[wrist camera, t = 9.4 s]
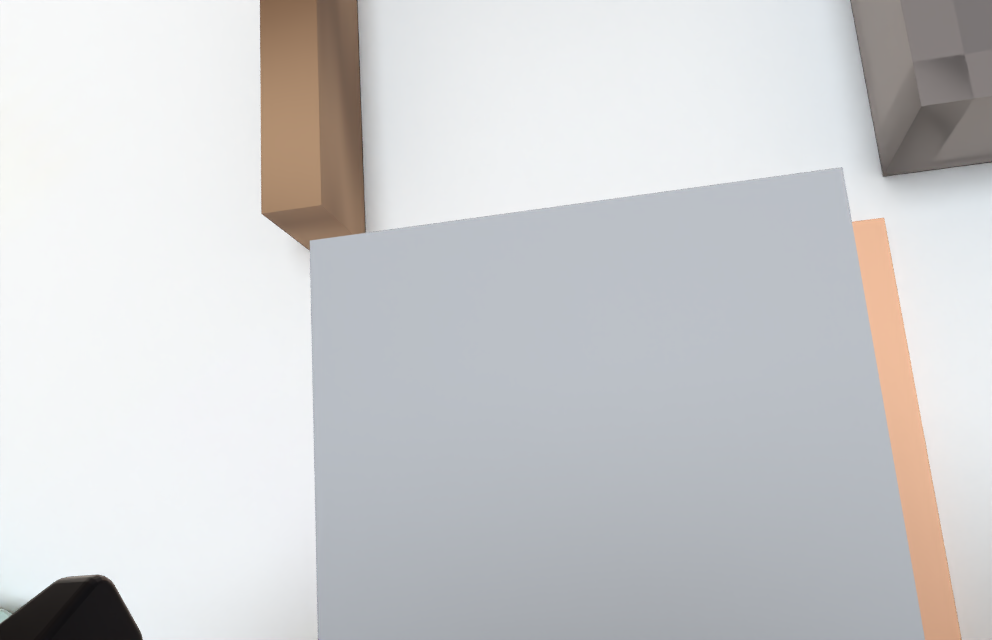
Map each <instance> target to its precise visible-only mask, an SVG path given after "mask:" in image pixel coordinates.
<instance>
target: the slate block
mask: <svg viewBox="0 0 992 640" xmlns="http://www.w3.org/2000/svg"><path fill="white" fill-rule="evenodd" d="M310 277H311V325H312V372H313V420H314V468H315V515H316V563H317V611H318V640H925V637H924V631H923V625H922V620H921V614H920V608H919V603H918V597H917V591H916V585H915V580H914V574H913V568H912V563H911V557H910V551H909V545H908V540H907V534H906V528H905V523H904V517H903V511H902V506H901V500H900V494H899V488H898V483H897V477H896V471H895V466H894V460H893V454H892V448H891V443H890V437H889V431H888V426H887V420H886V414H885V408H884V403H883V397H882V391H881V386H880V380H879V374H878V369H877V363H876V357H875V351H874V346H873V340H872V334H871V329H870V323H869V317H868V311H867V306H866V300H865V294H864V289H863V283H862V277H861V271H860V266H859V260H858V254H857V249H856V243H855V237H854V232H853V226H852V220H851V214H850V209H849V203H848V197H847V192H846V186H845V180H844V174H843V169H842V167H840V168H833V169H826V170H819V171H811V172H804V173H797V174H789V175H782V176H775V177H768V178H760V179H753V180H746V181H739V182H731V183H724V184H717V185H710V186H702V187H695V188H688V189H681V190H673V191H666V192H659V193H652V194H644V195H637V196H630V197H623V198H615V199H608V200H601V201H593V202H586V203H579V204H572V205H564V206H557V207H550V208H543V209H535V210H528V211H521V212H514V213H506V214H499V215H492V216H485V217H477V218H470V219H463V220H456V221H448V222H441V223H434V224H427V225H419V226H412V227H405V228H397V229H390V230H383V231H376V232H368V233H361V234H354V235H347V236H339V237H332V238H325V239H318V240H310Z"/></svg>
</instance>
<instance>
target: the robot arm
mask: <svg viewBox="0 0 992 640" xmlns="http://www.w3.org/2000/svg"><path fill="white" fill-rule="evenodd" d="M0 640H143V639H142V635H141V632H140V630H139V628H138V626H137V624H136V623H135V621H134V619H133V617H132V616H131V614H130V612H129V610H128V608H127V607H126V605H125V603H124V601H123V599H122V598H121V596H120V594H119V592H118V590H117V589H116V587H115V585H114V584H113V582H112V581H111V580H110V579H108V578H107V577H105V576H102V575H85V576H71V577H65V578H61V579H59V580H57V581H55V582H54V583H52V584H51V585H50V586H48V587H47V588H46V589H45V590H43V591H42V592H41V593H39V594H38V595H37V596H35V597H34V598H33V599H31V600H30V601H29V602H28V603H26V604H25V605H24V606H22V607H21V608H20V609H18V610H17V611H16V612H14V613H13V614H12V615H11V616H9V617H8V618H7V619H5V620H4V621H3V622H1V623H0Z"/></svg>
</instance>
